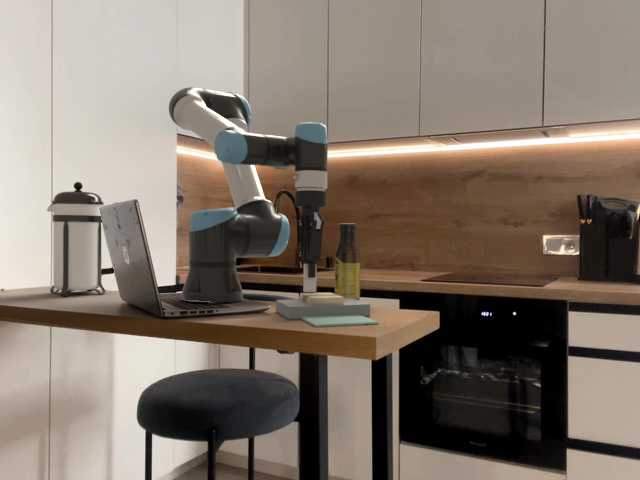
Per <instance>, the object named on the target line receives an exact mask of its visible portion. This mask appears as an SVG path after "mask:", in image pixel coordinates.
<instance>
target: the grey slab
mask: <svg viewBox="0 0 640 480" xmlns="http://www.w3.org/2000/svg"><path fill="white" fill-rule="evenodd" d="M275 312H276V313H278V314H280V315H282V316H283V317H285V318H286V319H288V320H297V319H298V320H299V319H301V317H305V316H331V315H358V314H359V315H362V316H364V317H370V316H371V303H368V302H365V301H362V300H360V299H359V300H356V299H353V298H344V304H331V305H311V304H309V303H307V302H304V301H302V300H300V298H299V299H276V300H275ZM301 320H302V319H301Z"/></svg>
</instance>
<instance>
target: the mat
mask: <svg viewBox="0 0 640 480" xmlns="http://www.w3.org/2000/svg"><path fill="white" fill-rule="evenodd" d="M301 320H303V321H305V322H306V323H308V324H310V325H311V326H313V327H315V328H317V327H318V328H319V327H320V328H321V327H339V326H340V327H342V326H361V325H362V326H363V325H365V324H368V325H379V321H378V320H374V319H372V318H369V317H368V316H362V315H359V314H358V315H331V316H305V317H301Z"/></svg>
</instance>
